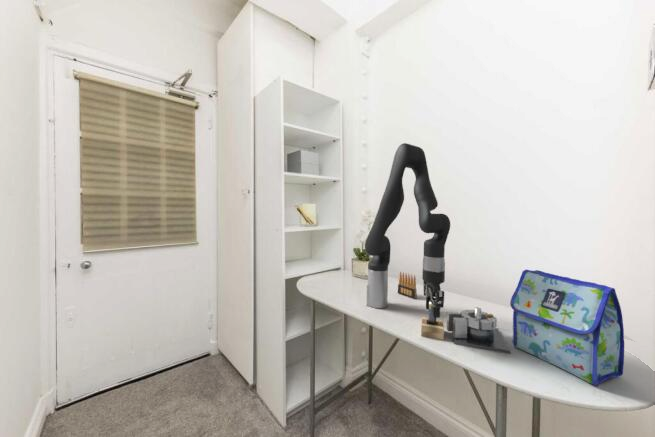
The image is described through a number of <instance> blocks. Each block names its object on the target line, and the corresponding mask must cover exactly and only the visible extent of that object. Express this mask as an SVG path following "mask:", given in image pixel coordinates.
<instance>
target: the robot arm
mask: <svg viewBox="0 0 655 437" xmlns="http://www.w3.org/2000/svg"><path fill="white" fill-rule="evenodd" d="M391 164H392V165H391V168H390V169H391V170H390V172H389V177H388V180H387V183H386V186H385V190H384V192H383V195H382V198H381V201H380V203H379V207H378V210H377V212H376V216H375V218H374V221H373V223H372V227H371V228H370V231H369V233H368V235H367V236H366V239H365V241H364V248H365V249H364V250H365V252H366V253H367V255H369V256H371V257H372V258H371V259H370V261H369V262H368V263H367V264H368V265H367V285H366V306H369V307H370V308H374V309H385V308H387V307H388V293H389V292H388V291H389V290H388V288H389V287H388V285H389V283H388V281H389V280H388V279H389V277H388V276H389V274H388V273H389V265H390V261H391V242H390V239H389V237H388V236H386V233H387V231H388V229H389V227H390V226H391V225H392V224H393V222H395V220H396V219H397V217H398V216H399V214H400V212H401V211H402V207H403V205H404V201H405V191H404V187H403V186H404V185H403V177H404V173H405V170H406V168H407V169H411V170H412V172H413V173H414V176H415V177H414V178H415V181H414V186H413V195H414V199H415V202H416V205H417V208H418V226H419V228H420V230H421V231H422V232H423V233H425V234H433V235H432V237H431V238H429V239H425V240H424V242H423V256H422V277H421V278H422V281H423V296H424V297H425V308H426V310H428V311H429V300H432V301H433V317H434V318H436V319H437V318H440V317H441V309H442V308H444V304H445V291H444V290H441V284H443V283H445V282H446V278H445V277H446V276H445V275H446V274H445V273H446V271H445V270H446V262H445V261H446V260H445V259H446V258H445V249H446V248H445V247H446V246H445V245H446V243H447V240H448V237H449V234H450V229H451V219H450V217H449V216H448V215H447V214H445V213H432V212H431V211H435V209H437V208H438V205H439V204H438V200H437V196H436V194H435V192H434V189H433V187H432V183H431V179H430V175H429V170H428V163H427V157H426V153H425V152H424V149H423V148H422V147H420V146H416V145H413V144H410V143H406V142H404V143H401V144H400V145H399V146H398V147H397V149H396V151H395V154H394V157H393V161H392V163H391Z"/></svg>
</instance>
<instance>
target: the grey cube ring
mask: <svg viewBox="0 0 655 437" xmlns="http://www.w3.org/2000/svg"><path fill="white" fill-rule="evenodd" d="M497 320H498V319H497V317H495V316H494V314H492V313H488V312H485V311H482V310H481V320H479V319H475V309H463V310H462V311H460V312H458V311H456V312H455V311H454V312H453V311H447V312H446V330H447V331H448V332H452V331H453V333H452V337H453V336H454V337H455V338H467V326H469V327H472V328H475V329H481V330H492V329H495V328H497V323H498V322H497Z"/></svg>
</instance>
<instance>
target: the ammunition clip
mask: <svg viewBox="0 0 655 437" xmlns="http://www.w3.org/2000/svg"><path fill="white" fill-rule="evenodd" d="M398 274H399V276H398V277H399V278H398V285H397V294H398V293H399V294H398V295H401V296H404V297H407V298H409V299H412V300H416V299H417V297H418V296H417V293H418V292H417V281H416V280H417V279H416V276H415V274H414V275H413V274H410V273H408V274H407V273H405V272H402V271H400V272H399V273H398Z"/></svg>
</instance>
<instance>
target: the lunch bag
mask: <svg viewBox="0 0 655 437" xmlns="http://www.w3.org/2000/svg"><path fill="white" fill-rule="evenodd" d="M509 301H510V302H509V303H510V304H509V305H510V307H511V309H512V310H513V313H512V333H513V334H512V346H513V347H514V348H517V349H519V350H520V351H523V352H526V353H528V354H529V355H532V356H535V357H537V358H539V359H541V360H543V361H546V362H548V363H549V364H551V365H554V366H555V367H558V368H559V369H562V370H563V371H566V372H568V373H570V374H572V375H574V376H575V377H578V378H580V379H581V380H583V381H585V382H587V383H589V384H591V385H594V386H596V387H599V384H601V383H603V382H605V381H606V380H607V381H608V379H610V378H619V377H622V376H623V374H624V363H625V362H624V361H625V335H624V334H625V333H624V321H623V319H624V318H623V313H622V312H623V311H622V308H621V305H620V302H619V298H618V295H617V292H616V289H615V288H614V287H611V286H607V285H606V284H605V285H604V284H598V283H596V282H591V281H586V280H585V281H583V280H580V279H576V278H575V279H574V278H571V277H567V276H561V275H558V274H553V273H549V272H545V271H541V270H538V269H537V270H536V269H535V270H531V269H524V270H522V272H521V275H520V278H519V280H518V283H517V285H516V288H515V290H514V291H513V294H512V296H511V298H510V300H509Z"/></svg>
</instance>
